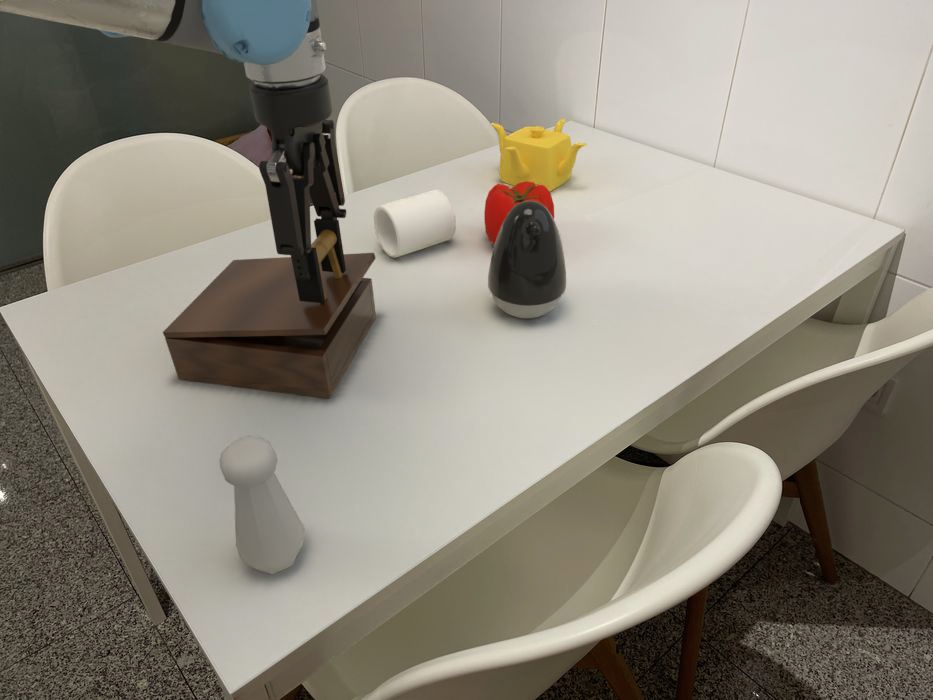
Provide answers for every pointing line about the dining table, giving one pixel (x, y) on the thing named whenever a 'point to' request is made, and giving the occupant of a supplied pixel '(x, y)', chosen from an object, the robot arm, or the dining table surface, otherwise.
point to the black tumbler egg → (527, 262)
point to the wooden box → (280, 354)
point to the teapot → (536, 155)
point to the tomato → (511, 203)
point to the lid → (271, 297)
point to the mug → (414, 223)
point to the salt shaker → (261, 506)
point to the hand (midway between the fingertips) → (323, 284)
